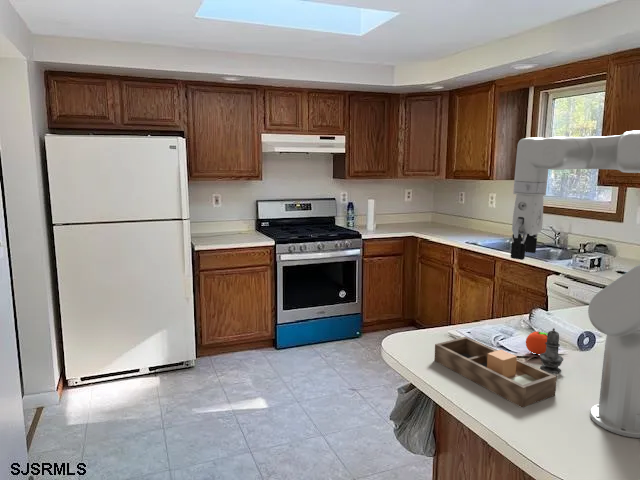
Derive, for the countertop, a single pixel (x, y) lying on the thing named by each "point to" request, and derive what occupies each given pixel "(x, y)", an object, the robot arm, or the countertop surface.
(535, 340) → the clementine
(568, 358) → the countertop surface
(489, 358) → the block
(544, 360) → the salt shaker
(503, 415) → the countertop surface
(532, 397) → the wooden divided tray
